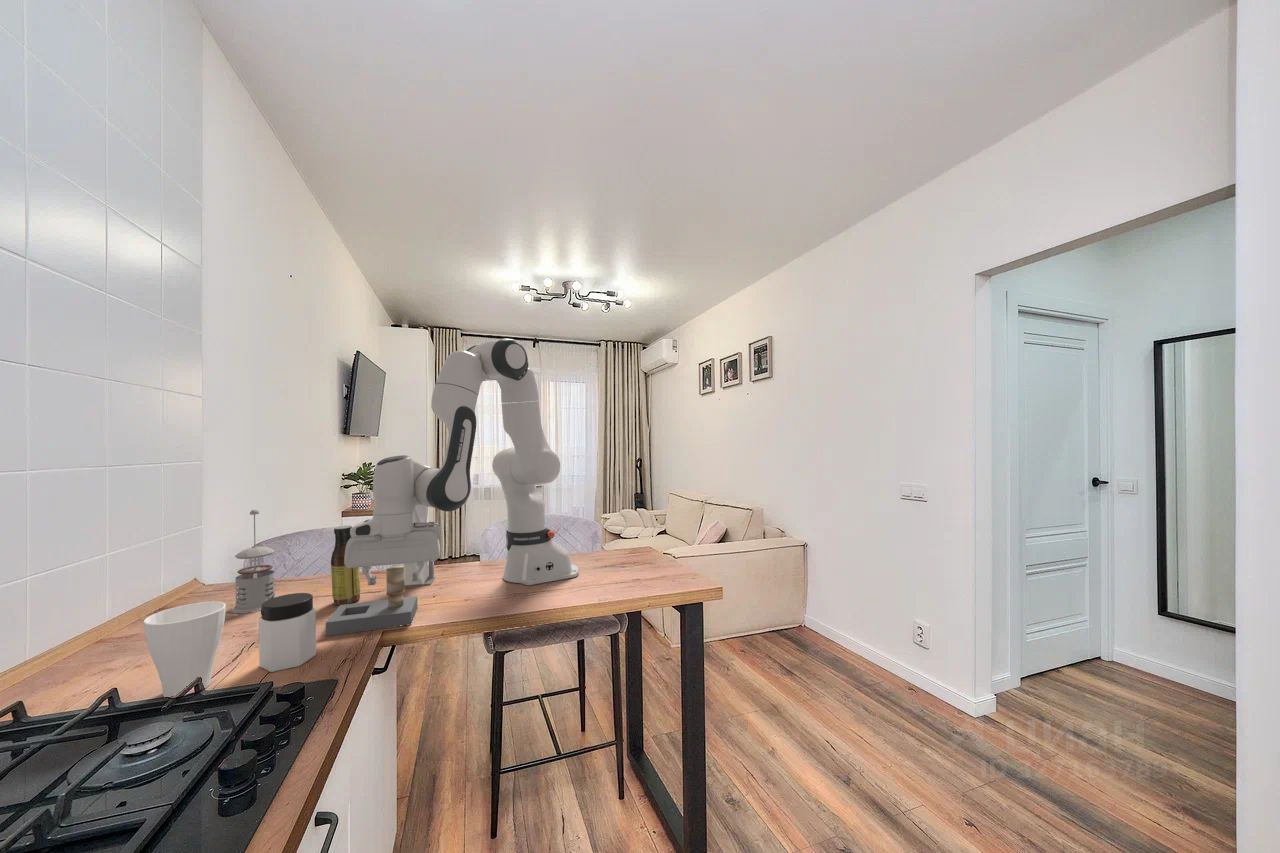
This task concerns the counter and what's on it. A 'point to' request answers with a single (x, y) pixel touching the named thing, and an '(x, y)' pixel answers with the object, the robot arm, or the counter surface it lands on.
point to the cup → (184, 643)
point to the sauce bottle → (343, 570)
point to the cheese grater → (409, 568)
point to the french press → (254, 579)
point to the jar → (287, 631)
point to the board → (370, 616)
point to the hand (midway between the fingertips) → (394, 582)
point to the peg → (395, 586)
